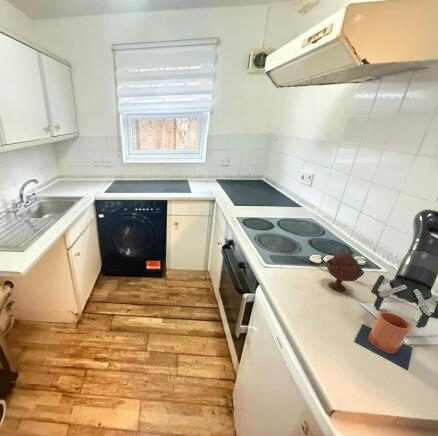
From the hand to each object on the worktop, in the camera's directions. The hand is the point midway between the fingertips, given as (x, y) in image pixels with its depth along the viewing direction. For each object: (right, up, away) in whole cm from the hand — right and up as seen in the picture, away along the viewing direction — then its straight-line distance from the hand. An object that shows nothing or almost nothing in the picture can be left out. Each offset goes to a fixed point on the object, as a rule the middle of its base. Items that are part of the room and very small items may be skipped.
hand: (396, 318), depth 68 cm
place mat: (-4, -8, 0) cm, 9 cm away
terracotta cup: (-4, -7, 0) cm, 9 cm away
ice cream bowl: (+1, +2, +23) cm, 23 cm away
